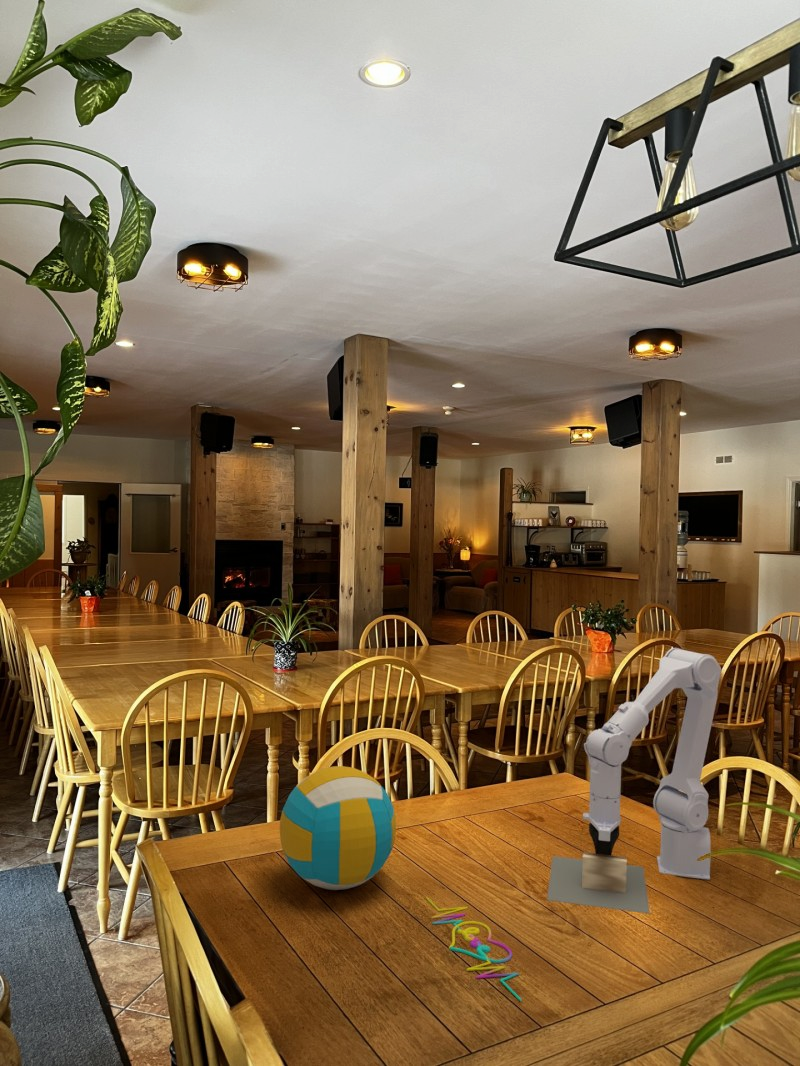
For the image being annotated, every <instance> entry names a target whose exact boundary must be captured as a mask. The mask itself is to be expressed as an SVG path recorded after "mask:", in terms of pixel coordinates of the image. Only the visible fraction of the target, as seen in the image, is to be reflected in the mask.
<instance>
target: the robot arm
mask: <svg viewBox="0 0 800 1066" xmlns="http://www.w3.org/2000/svg"><path fill="white" fill-rule="evenodd" d="M658 662H659V663H658V664H659V666H658V667H659V668H658V670H657V671H656V673H655V674H654V675H653V676H652V677H651V679H650V681H649V682H648V683H647V684H645V685H646V686H644V688H643V689H642V691H641V692H640V693H639V695H638V696H637V697H636V698H635V700H634V701H625V702H624V703H621V704H620V705H619V706H618V709H617V711H616V712H615V713H614V714H613V715H612V716H611V717H610V718H609V719H608V720H607V722H605V723H604V724H603V726H602V727H601V728H598V729H594V730H593V731H591V732H590V733H589V734H588V736H587V738H586V741H585V742H584V744H583V747H584V751H585V753H586V755H587V757H588V765H589V769H590V770H589V773H590V774H589V776H590V777H589V802H588V804H589V807H588V808H589V809H588V810H589V811H588V812H583V814H582V819H583V820H584V821H589V822H590V823H589V824H588V833H589V835H590V837H591V840H592V843H593V846H594V847H593V848H594V853H595V854H604V855H613V850H614V847H615V844H616V842H617V841H618V839H619V837H620V826H619V825H621V823H622V821H621V820H622V818H621V787H622V786H621V784H622V782H621V781H622V778H621V777H622V764H623V762H625V761H626V760H627V759H628V756H629V752H630V748H631V747H632V744H633V741H635V739H636V738H637V736H638V735H639V734H640V733H641V732H642V731H643V730H644V729H645V728H646V726H648V724H649V720H650V719H649V714H650V713H651V711H653V710H654V708H656V707H657V706H658V705H659V704H660V703H661V702H662V701H663V700H664V699H665V698H666V697H667V696H668V695H669V694H670V693H672V692H673V691H674V690H675V689H682V691H683V693H684V694H685V696H686V697H687V700H686V705H685V709H684V714H683V719H682V724H681V728H680V732H679V738H678V743H677V747H676V751H675V755H674V756H675V757H674V761H673V766H672V770H671V773H669V774H668V775H666V776H664V777H663V778H661V780H660V782H659V783H660V784H659V787H658V789H657V790H656V792H655V794H654V797H653V801H652V805H653V810H654V812H655V813H656V814H657V815H658V820H659V821H660V853H659V855H658V856H656V860H657V866H658V867H657V868H658V872H659V873H660V874H664V875H673V876H675V877H676V876H677V877H683V878H690V879H691V878H692V879H699V880H700V879H701V880H711V876H710V875H711V857H710V858H707V859H704V860H701V861H697V859H698V858H700V857H701V856H704V855H706V854H708V853H710V854H711V833H710V832H711V831H710V829H709V828H708V827H704V826H705V824H706V823H707V822H708V818H709V806H708V804H709V803H708V802H709V797H710V796H709V793H708V791H707V790H706V788H705V787H704V785H703V784H702V782H701V778H702V777H701V776H702V771H703V768H704V764H705V758H706V753H707V750H708V749H707V748H708V743H709V738H710V733H711V729H712V725H713V719H714V715H715V711H716V706H717V705H716V704H717V702H718V701H717V700H718V693H719V692H718V688H719V684H720V683H719V681H720V679H721V674H722V667H721V665H720V664H719V662H718V661H717V659H716V658H715V657H714V656H713V655H711V654H708V653H707V654H706V653H699V652H695V651H690V650H686V649H685V650H684V649H683V648H678V647H673V648H670V649H668V650H667V651H666V652H665V654H664V655H663V657H661V658H660V659H659V661H658Z"/></svg>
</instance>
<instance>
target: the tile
mask: <svg viewBox="0 0 800 1066" xmlns="http://www.w3.org/2000/svg"><path fill="white" fill-rule="evenodd" d="M582 860H583V871H582V888H590V889H598V890H606V891H614V892H621V893H626V872H627V865H628V864H627V863H628V861H627V860H628V859H627V856H619V855H613V854H612V855H604V854H596V853H595V852H586V851H583V852H582Z"/></svg>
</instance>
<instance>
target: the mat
mask: <svg viewBox="0 0 800 1066" xmlns="http://www.w3.org/2000/svg"><path fill="white" fill-rule="evenodd" d="M582 871H583V858H581V859H579V858H573V857H572V858H571V857H564V856H555V855H552V859H551V866H550V874H549V881H548V887H547V888H548V889H547V898H546V900H547V901H549V902H550V901H551V902H559V903H565V904H566V903H567V904H571V905H572V904H574V905H582V906H588V907H596V908H603V909H604V908H605V909H610V910H620V911H627V912H635V913H641V914H649V915H650V906H649V899H648V891H647V886H646V885H647V884H646V878H645V877H646V875H645V871H644V866H640V865H639V866H638V865H631V864H627V872H626V893H621V892H614V891H606V890H598V889H590V888H582Z"/></svg>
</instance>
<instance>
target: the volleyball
mask: <svg viewBox="0 0 800 1066" xmlns="http://www.w3.org/2000/svg"><path fill="white" fill-rule="evenodd" d="M279 819H280V820H279V837H280V838H279V839H280V843H281V848H282V852H283V853H284V855H285V857H286V859H287V861H288V864H289V865H290V867H291V868H292V869H293V870H294V871H295V873H296V874H297V875H298V876H299V877H300V878H302V879H303V880H305V881H306V882H308V883H309V884H312V885H313V886H315V887H318V888H322V889H325V890H331V891H338V890H348V889H351V888H355V887H358V886H361V885H363V884H364V883H366V882H367V881H369V880H370V879H371V878H373V877H374V876H375V875H376V874H377V873H378V872H379V871H380V870H381V869H382V868H383V867H384V865H385V863H386V862H387V860H388V858H389V857H390V855H391V852H392V850H393V848H394V845H395V841H396V835H397V834H396V831H397V821H396V819H397V818H396V814H395V809H394V805H393V804H392V800H391V799H390V797H389V794H388V792H387V791H386V790H385V789H384V787H383V786H382V785H381V783H380V782H378V780H376V779H375V778H374V777H373V776H371V775H369V774H368V773H367V772H364V771H362V770H360V769H357V768H355V767H350V766H343V765H336V766H328V767H324V768H322V769H319V770H315V772H313V773H311V774H309V775H307V776H306V777H304V778H303V779H302V780H301V781H299V783H298V784H296V786H295V787H294V788H293V789H292V790H291V792H290V794H289V795H288V798H287V800H286V802H285V804H284V806H283V808H282V811H281V816H280V818H279Z"/></svg>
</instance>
